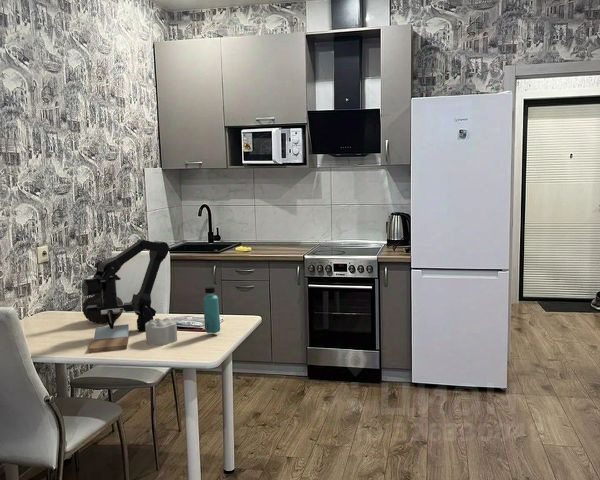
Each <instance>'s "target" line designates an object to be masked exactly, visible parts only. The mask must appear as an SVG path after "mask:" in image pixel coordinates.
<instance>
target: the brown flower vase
mask: <svg viewBox="0 0 600 480" xmlns="http://www.w3.org/2000/svg"><path fill="white" fill-rule="evenodd" d="M101 262H102V261H97V262H95V266H93V268H94V269H96V271H95V273H96V272H97V270H98V265H99V264H100V263H101ZM101 276H103V275H101ZM101 295H102V292H100V294H95V295H92V296H91V297H89V296H88V298H86V299H85V300H84V301H83V304H82V313H83V315H84V317H85V318H86V319H87V321H89V322H91V323H93V324H99V325H104V324H105V325H106V324H108V322H107V320H106V319H105V317H104V316H101V311H100V312H96V313H95V314H94V315H86V308H87V307H88V306H89V305H97V307H103V303H101V302H100V296H101ZM117 298H118V305H124V302H123V300H122V299H121V297H119V296H117ZM118 305H117V306H118ZM107 309H109V308H107ZM123 312H124V310H120V314H119V315H117V316H116V319H115V321H117V320H118V319H119V318H120V317H121V315H122V314H123ZM112 313H113V310H112V311H110V318H111V323H112Z"/></svg>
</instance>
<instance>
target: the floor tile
mask: <svg viewBox="0 0 600 480" xmlns="http://www.w3.org/2000/svg"><path fill="white" fill-rule="evenodd" d="M94 330H95V331H94V337H93V340H100V339H110V338H121V337H128V338H129V324H117V325H115V324H114V326H113V329H111V328H110V326H109V325H105V326H96V327H95V329H94Z"/></svg>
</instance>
